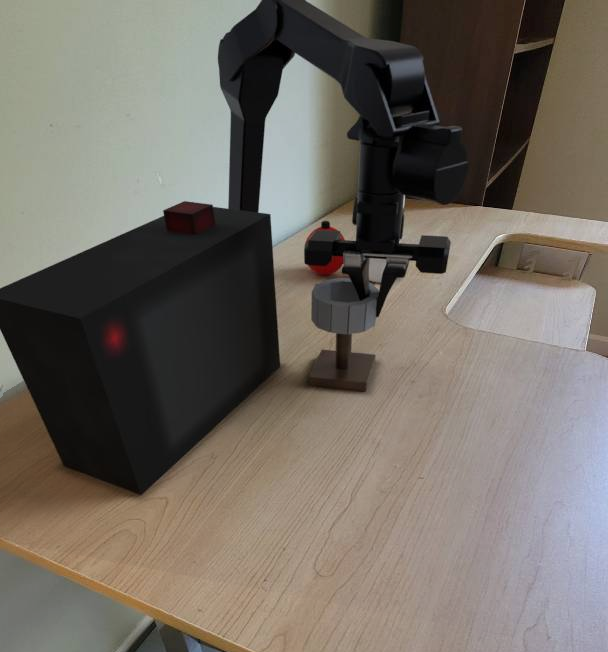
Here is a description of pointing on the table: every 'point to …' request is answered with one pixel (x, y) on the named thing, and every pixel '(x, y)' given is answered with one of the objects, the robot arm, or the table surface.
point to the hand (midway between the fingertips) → (372, 315)
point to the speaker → (147, 339)
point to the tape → (342, 307)
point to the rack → (342, 367)
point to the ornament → (336, 260)
